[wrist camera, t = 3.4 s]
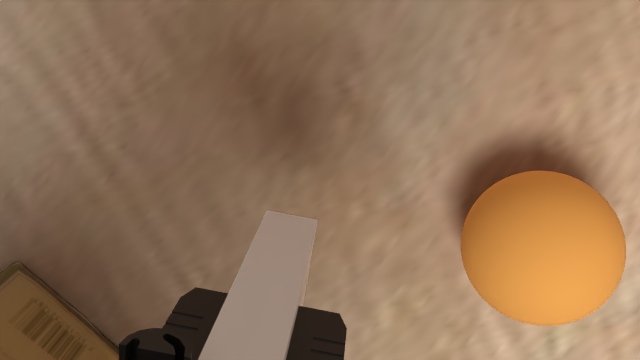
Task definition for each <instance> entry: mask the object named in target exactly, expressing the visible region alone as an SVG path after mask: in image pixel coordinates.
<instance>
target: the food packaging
mask: <svg viewBox="0 0 640 360" xmlns="http://www.w3.org/2000/svg"><path fill="white" fill-rule="evenodd" d="M0 360H119V349H118V348H116V347H115V346H114V345H113V344H112V343H111V342H110V341H108V340H107V339H106V338H105V337H104V336H103V335H102V334H101V333H100V332H99V331H98V330H97V329H96V328H95V327H94V326H93V325H92V324H91V323H90V322H89V321H88V320H87V319H86V318H85V317H84V316H83V315H82V314H80V313H79V312H78V311H77V310H75V309H74V308H73V307H72V306H70V305H69V304H68V303H67V302H65V301H64V300H63V299H62V298H60V297H59V296H58V295H57V294H56V293H54V292H53V291H52V290H51V289H50V288H49V287H48V286H46V285H45V284H44V283H43V282H42V281H41V280H40V279H38V278H37V277H35V276H34V275H33V274H31V273H30V272H29V271H28V270H27V269H26V268H25V267H23V265H22V264H21V263H20V262H18V263H15V264H12V265H10V266H9V267H8V268H7V269H6V270H4V271H3V272H2V273H1V274H0Z"/></svg>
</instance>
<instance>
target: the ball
mask: <svg viewBox="0 0 640 360" xmlns="http://www.w3.org/2000/svg"><path fill="white" fill-rule="evenodd" d="M461 254H462V260H463V264H464V268H465V270H466V273H467V275H468V277H469V280H470V282H471V283H472V285H473V286H474V288H475V289H476V291H477V292H478V293H479V294H480V296H481V297H482V298H483V299H484V300H485V301H486V302H487V303H488V304H489V305H491V306H492V307H493V308H494V309H496V310H497V311H499V312H500V313H502V314H504V315H506V316H508V317H510V318H512V319H515V320H517V321H520V322H523V323H527V324H533V325H542V326H553V325H561V324H567V323H570V322H574V321H577V320H579V319H581V318H584V317H586V316H587V315H589V314H591V313H593V312H594V311H595V310H597V309H598V308H599V307H600V306H602V305H603V304H604V303H605V302H606V301H607V299H608V298H609V297H610V296H611V295H612V293H613V292H614V290H615V289H616V287H617V285H618V283H619V281H620V279H621V277H622V273H623V270H624V266H625V260H626V244H625V237H624V232H623V229H622V226H621V224H620V221H619V219H618V217H617V215H616V213H615V211H614V210H613V209H612V207H611V206H610V205H609V203H608V202H607V201H606V199H605V198H604V197H603V196H602V195H601V194H600V193H598V192H597V191H596V190H594V189H593V188H592V187H590V186H589V185H588V184H586V183H584V182H582V181H581V180H579V179H576V178H574V177H571V176H569V175H566V174H562V173H558V172H552V171H528V172H522V173H518V174H514V175H511V176H509V177H506V178H504V179H502V180H500V181H498V182H497V183H495V184H494V185H492V186H491V187H489V188H488V189H487V190H486V191H485V192H483V193H482V194H481V196H480V197H479V198H478V199H477V200H476V201H475V203H474V204H473V206H472V207H471V209H470V211H469V213H468V215H467V217H466V220H465V222H464V225H463V230H462V236H461Z"/></svg>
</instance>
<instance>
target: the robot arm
mask: <svg viewBox="0 0 640 360" xmlns="http://www.w3.org/2000/svg"><path fill="white" fill-rule="evenodd" d="M317 223H318V220H317V219H312V218H307V217H301V216H296V215H291V214H285V213H280V212H275V211H269V210H266V212H265V214H264V217H263V219H262V221H261V223H260V225H259V228H258V230H257V232H256V234H255V236H254V238H253V241H252V243H251V245H250V247H249V249H248V252H247V254H246V256H245V258H244V260H243V262H242V265H241V267H240V269H239V271H238V273H237V276H236V278H235V280H234V282H233V284H232V287H231V289H230V291H229V293H228V294H227V293H222V292H217V291H212V290H206V289H201V288H194V289H193V290H191V291H190V292H188V293H187V294H185V295H184V296H182V297H181V298H180V299H179V301H178V303H177V304H176V306H175V308H174V309H173V311H172V314H170V316H169V318H168V319H167V321H166V324H165V325H164V326H163V328H162V329H161V328H151V329H145V330H140V331H138V332H135V333H133V334H131V335H129V336H127V337H126V338H125V339H124V340H123V341H122V342H121V343H120V344H119V360H344V351H345V341H346V330H347V328H346V326H345V324H344V322H343V320H342V318H341V316H340V314H339V313H333V312H328V311H323V310H318V309H313V308H307V307H303V303H304V298H305V292H306V286H307V281H308V275H309V269H310V263H311V258H312V252H313V246H314V240H315V234H316V229H317Z"/></svg>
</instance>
